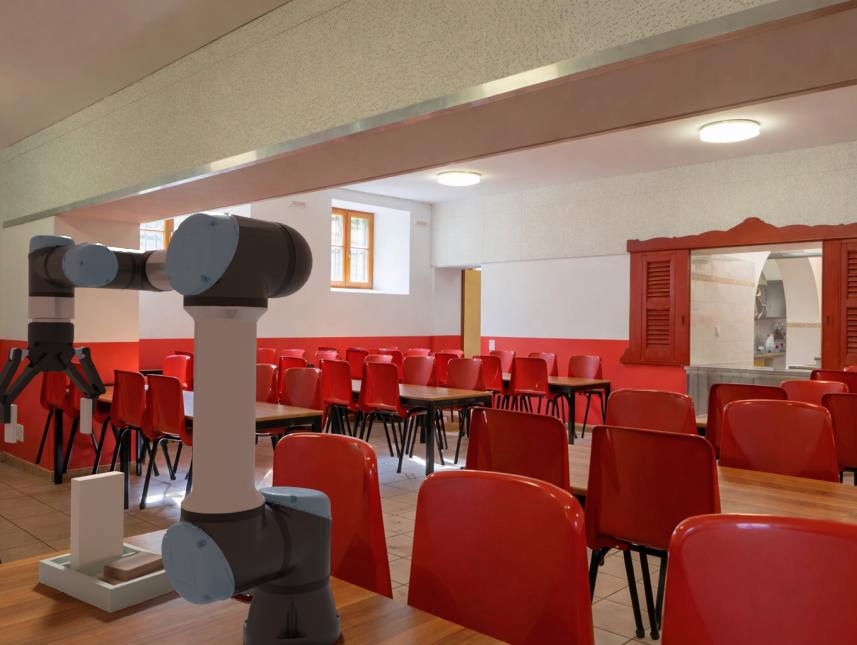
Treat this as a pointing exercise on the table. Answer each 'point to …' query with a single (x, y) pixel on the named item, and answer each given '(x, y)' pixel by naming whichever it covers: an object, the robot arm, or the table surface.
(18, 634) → the table surface
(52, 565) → the tray
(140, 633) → the table surface
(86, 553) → the white rectangular block
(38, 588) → the table surface
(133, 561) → the offcut upper
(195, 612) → the table surface
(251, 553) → the robot arm
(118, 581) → the offcut lower
